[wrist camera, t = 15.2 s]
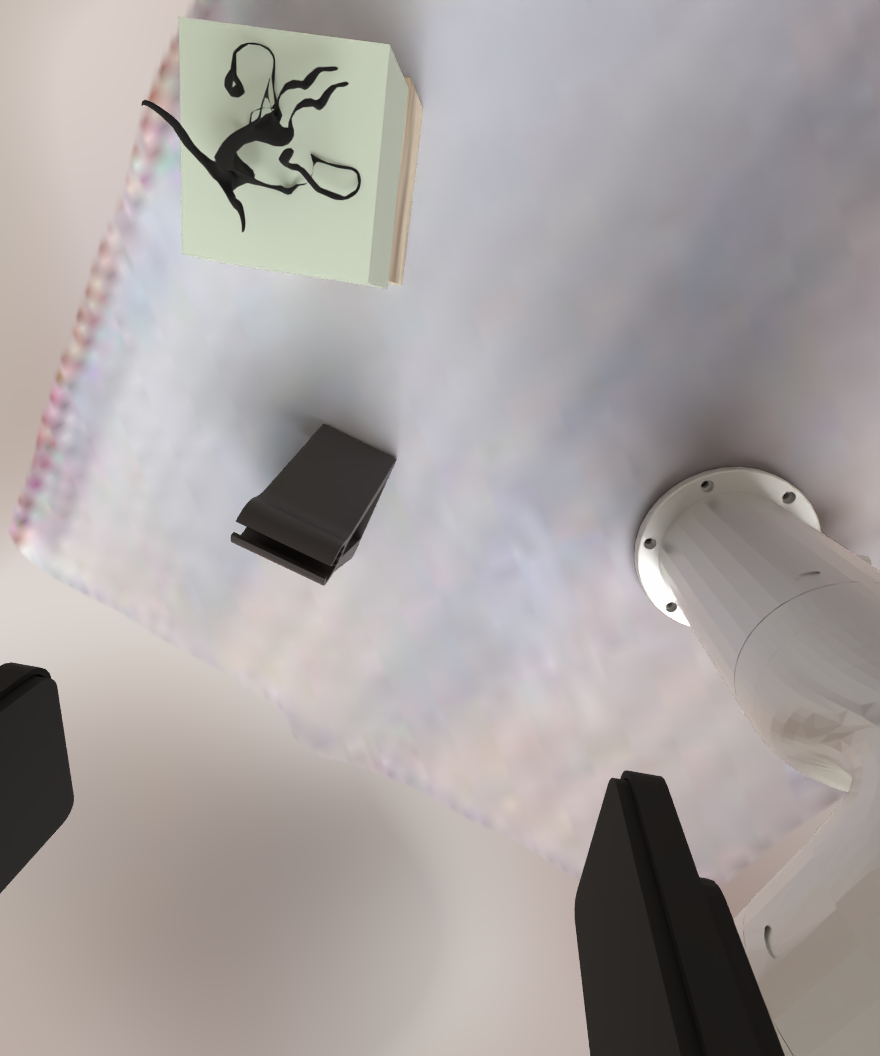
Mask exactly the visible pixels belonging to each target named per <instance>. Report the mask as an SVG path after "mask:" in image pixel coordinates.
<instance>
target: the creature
mask: <svg viewBox="0 0 880 1056" xmlns="http://www.w3.org/2000/svg"><path fill="white" fill-rule="evenodd" d="M248 44H250V45H260V46H262V47H263V48H265V49H267V50H269V52H270V53H271V55H272V57H273V70H272V76H271V78H272V86H273V94H274V105H273V106H272V107H271V108H270V109H271V111H272V109H274V110H273V111H272V112H270V113H267V114H265V115H264V116H263V117H261V112H262V109H263V108H262V107H263V103H264V100H265V98H268V100H269V92H268V89H269V82H270V78H269V81H268V85H267V88H266V91H265V94H264V97H263V100H262V103H261V107H260V108H259V109H257V110H260V113H259V116H258V118H257V119H256V120H255V121H253V122H251V119H252V114H253V112H254V111H253V112H251V114H250V121H249V124H248V125H246V126H244V127H242V128H240V129H238V130H236V131H235V132H233V133H232V134H231V135H229V136H228V137H227V138H226V139H225V140H224V141H223V143H222V144H221V146H220V147H219V149H218V151H217V153H216V154H215V156H214V158H215V161H213V160H211V159H209V158H208V157H207V156H206V155H205V154H204V153H202V152H201V151H200V150H199V149H198V148H197V147H196V146H195V144H194V143H193V142H192V140H191V139H190V137H189V135H188V134H187V132H186V131H185V129H184V128H183V127H182V125H181V124H180V123H179V122H178V121H177V120H176V119H175V118H174V117H173V116H172V115H170V114H169V113H168V112H166V111H165V110H163V109H162V108H161V107H159V106H157V105H156V104H154V103H153V102H150V101H147V100H144V101H142V105H146V106H148V107H150V108H151V109H153V110H154V111H156V112H157V113H158V114H159V115H161V116H162V117H163V118H164V119H165V120H166V121H167V122H168V123H169V124H170V125H171V126H172V127H173V128H174V130H175V132H176V133H177V135H178V136H179V138H180V140H181V141H182V143H183V144H184V146H185V147H186V148H187V149H188V150H189V151H190V152H191V153H192V154H193V155H194V157H195V158H196V159H197V160H198V161H199V162H200V163H201V164H202V165H203V166H204V167H205V168H206V170H207V171H208V172H209V174H210V175H211V177H212V178H213V179H215V180H216V181H217V182H218V183H219V185H220V186H221V188H222V189H223V191H224V193H225V194H226V196H227V198H228V200H229V202H230V203H231V205H232V206H233V208H234V209H236V210H237V212H238V213H239V216H240V219H241V225H242V232H244V230H245V225H246V221H245V213H244V208H243V205H242V203H241V202H240V201H239V200H238V199H236V196H235V194H234V192H233V191H234V190H235V189H236V188H237V187H239V186H241V185H243V184H246V183H249V184H253V185H258V186H263V187H266V188H270V189H274V190H277V191H280V192H282V193H284V194H287V195H290V194H292V193H293V191H294V190H295V189H296V188H297V187H298V186H302V185H306V184H307V183H304V184H296V185H294V186H293V187H290V188H285V187H283V186H282V185H270V184H266V183H263V182H261V181H259V180H257V179H255V174H254V171H253V169H251V168H250V167H249V166H248V165H247V164H246V163H244V162H243V161H242V160H241V159H240V158H239V156H238V154H237V151H238V150H239V149H240V148H241V147H242V146H243V145H245V144H248V143H251V142H254V141H259V142H263V143H267V144H269V145H272V146H278V147H282V146H285V145H288V144H289V143H290V142H291V141H292V139H293V137H294V128H293V124H292V117H293V116H294V114H295V112H296V111H298V110H299V109H301V108H303V107H314V108H315V109H317V110H321V109H323V108H324V107H325V105H326V104H327V102H328V100H329V98H330V96H331V94H332V93H333V92H334V90H335V89H336V88H337V87H345V86H347V85H348V84H349V83H348V82H341V83H337V84H333V85H331V86H330V87H328V88H327V89H326V90H325V91H324V93H323V94H322V96H321V97H320V98H319V99H317V100H314V99H312V98H305V99H303V100H302V101H301V102H299V103H298V104H297V105H296V107H295V109H294V110H293V112H292V114H291V117H290V120H289V122H288V128H287V127H283V126H282V125H281V124H280V121H281V118H282V113H281V110H280V108H279V99H280V97H281V95H282V94H283V93H285V92H286V91H287V90H290V89H296V88H301V89H303V90H306V89H308V88H309V87H310V86H311V85H312V84H313V82H314V81H315V80H316V78H317V76H318V75H319V74H320V73H321V72H323V71H328V72H331V71H336V70H338V69H339V68H338V67H336V66H330V67H317V68H315V69H314V70H313V71H312V72H310V73H309V74H308V75H307V76H306V77H305V79H304V80H303V81H300V80H291V81H289V82H287V83H285V85H284V86H283V88H282V90H281V91H280V94H279V96H278V99H277V98H276V94H275V89H274V83H275V57H274V54H273V52H272V51H271V50H270V49H269V48H268V47H266V46H264V45H262V44H259V43H254V42H251V43H244V44H241V45H240V46H239V47H237V48H236V49H235V50H234V52H233V56H232V62H231V69H230V70H229V72H228V73H227V75H226V77H225V79H224V87H225V88H226V90H227V91H228V93H229V95H230V96H231V97H236V98H238V97H241V96H242V95H243V94H244V93H245V90H244V87H243V85H242V83H241V81H240V79H239V78H238V76H237V65H236V53H237V52H238V51H240V50H241V49H242V48H244V47H245V46H247V45H248ZM233 81H234V82H235V84H236V85H235V86H234V87H233ZM269 103H270V100H269ZM270 106H271V104H270ZM257 110H255V111H257ZM293 154H294V150H293V149H292V148H287V149H285V150H283V152H282V153H281V155H280V157H279V161H280V163H281V164H282V165H283V166H285V167H287V168H289V169H291V170H295V171H299V172H300V173H301V174H302V175H303V177H304V178H305V179H306V180H307V181H308V183H309V184H310V185H311V186H312V188H313V189H314V190H315V191H316V192H318V193H320V194H323V195H325V196H327V197H329V198H332V199H334V200H346V199H349V198H351V197H353V196H354V195H356V194H357V193H358V191H359V189H360V184H361V177H360V174H359V172H358V171H357V169H355V168H353V167H349V166H342V165H337V164H332V163H328V162H326V161H323V160H321V159H319V158H317V157H315V156H314V155H313V154H310V155H311V158H312V162H313V167H314V165H315V164H316V162H320V163H324V164H327V165H330V166H333V167H336V168H341V169H348V170H352V171H354V172H355V173H356V174H357V179H358V185H357V188H356V190H355V191H353V192H351V193H350V194H348V195H346V196H342V195H339V194H337V193H334V192H331V191H329V190H326V189H323V188H321V187H320V186H319V185H318V184H317V183H316V182H315V181H314V179H313V178H312V177H311V176H312V175H310V174H309V173H308V172H307V171H306V170H305V168H303V167H301V166H300V165H299V164H293V163H290V162H289V161H290V159H291V157H292V156H293ZM312 174H313V172H312Z"/></svg>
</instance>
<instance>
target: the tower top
mask: <svg viewBox="0 0 880 1056" xmlns="http://www.w3.org/2000/svg"><path fill="white" fill-rule="evenodd" d="M251 42H254V43H259V44H262V45H264V46H266V47H268V48H269V49H270V50H271V51H272V52H273V54H274V57H275V83H274V89H275V94H276V98H277V99H278V96H279V94H280V91H281V90H282V88H283V86H284V85H285V83H287V82H289V81H291V80H300V81H303V80H304V79H305V77H306V76H307V75H308V74H309V73H310V72H312V71H313V70H314V69H315V68H317V67H330V66H336V67H338V68H339V69H338V70H336V71H331V72H328V71H323V72H321V73H320V74H319V75H318V76H317V78H316V80H315V81H314V82H313V84H312V85H311V86H310V87H309V88H308V89H306V90H303V89H301V88H296V89H290V90H287V91H286V92H285V93H283V94H282V95H281V97H280V99H279V108H280V110H281V113H282V118H281V121H280V124H281V125H282V126H283V127H287V128H288V122H289V120H290V117H291V114H292V112H293V110H294V109H295V107H296V105H297V104H298V103H299V102H301V101H302V100H303V99H305V98H312V99H314V100H317V99H319V98H320V97H321V96H322V94H323V93H324V91H325V90H326V89H327V88H328V87H330V86H331V85H333V84H337V83H341V82H348V83H349V84H348V85H347V86H345V87H337V88H336V89H335V90H334V92H333V93H332V94H331V96H330V98H329V100H328V102H327V104H326V105H325V107H324V108H323V109H321V110H317V109H315V108H314V107H303V108H301V109H299V110H298V111H296V112H295V114H294V116H293V117H292V124H293V128H294V137H293V139H292V141H291V142H290V143H289V144H288V145H285V146H282V147H278V146H272V145H269V144H267V143H263V142H259V141H254V142H251V143H248V144H245V145H243V146H242V147H241V148H240V149H239V150H238V151H237V154H238V156H239V158H240V159H241V160H242V161H243V162H244V163H246V164H247V165H248V166H249V167H250V168H251V169H253V171H254V174H255V179H257V180H259V181H261V182H263V183H266V184H270V185H282V186H283V187H285V188H290V187H293V186H294V185H296V184H304V183H307V184H306V185H302V186H298V187H297V188H296V189H295V190H294V191H293V193H292V194H290V195H287V194H284V193H282V192H280V191H277V190H274V189H270V188H266V187H263V186H258V185H253V184H249V183H246V184H243V185H241V186H239V187H237V188H236V189H235V190H234V191H233V192H234V194H235V196H236V199H238V200H239V201H240V202H241V203H242V205H243V208H244V213H245V221H246V225H245V230H244V232H242V225H241V219H240V216H239V213H238V212H237V210H236V209H234V208H233V206H232V205H231V203H230V202H229V200H228V198H227V196H226V194H225V193H224V191H223V189H222V188H221V186H220V185H219V183H218V182H217V181H216V180H215V179H213V178H212V177H211V175H210V174H209V172H208V171H207V170H206V168H205V167H204V166H203V165H202V164H201V163H200V162H199V161H198V160H197V159H196V158H195V157H194V155H193V154H192V153H191V152H190V151H189V150H188V149H187V148H186V147H185V146H184V144H183V143H182V141H181V195H182V254H184V255H189V256H193V257H198V258H202V259H207V260H212V261H216V262H221V263H225V264H231V265H237V266H243V267H250V268H256V269H263V270H269V271H275V272H282V273H288V274H295V275H301V276H307V277H314V278H320V279H327V280H333V281H340V282H346V283H352V284H359V285H365V286H372V287H378V288H384V289H387V288H388V279H389V269H390V260H391V250H392V240H393V231H394V221H395V212H396V202H397V193H398V183H399V173H400V164H401V154H402V145H403V135H404V126H405V116H406V107H407V97H408V86H407V84H406V81H405V79H404V77H403V74H402V72H401V69H400V67H399V65H398V62H397V60H396V57H395V55H394V53H393V50H392V48H391V45H390V44H383V43H376V42H368V41H360V40H353V39H345V38H338V37H330V36H323V35H315V34H307V33H300V32H292V31H285V30H277V29H269V28H262V27H254V26H247V25H239V24H231V23H224V22H216V21H209V20H201V19H193V18H186V17H179V72H180V124H181V125H182V127H183V128H184V129H185V131H186V132H187V134H188V135H189V137H190V139H191V140H192V142H193V143H194V144H195V146H196V147H197V148H198V149H199V150H200V151H201V152H202V153H204V154H205V155H206V156H207V157H208V158H209V159H211V160H213V161H215V158H214V156H215V154H216V153H217V151H218V149H219V147H220V146H221V144H222V143H223V141H224V140H225V139H226V138H227V137H228V136H229V135H231V134H232V133H233V132H235V131H236V130H238V129H240V128H242V127H244V126H246V125H248V124H249V121H250V114H251V112H253V111H254V112H253V114H252V119H251V122H253V121H255V120H256V119H257V118H258V116H259V113H260V110H257V109H259V108H260V107H261V103H262V100H263V97H264V94H265V91H266V88H267V85H268V81H269V78H270V82H269V89H268V92H269V100H270V103H269V100H268V98H265V100H264V103H263V107H262V108H263V109H262V112H261V117H263V116H264V115H265V114H267V113H270V112H272V111H273V110H274V109H272V111H271V109H270V108H271V107H272V106H273V105H274V94H273V86H272V78H271V76H272V70H273V57H272V55H271V53H270V52H269V50H267V49H265V48H263V47H262V46H260V45H250V44H248V45H247V46H245V47H244V48H242V49H241V50H240V51H238V52H237V53H236V65H237V76H238V78H239V79H240V81H241V83H242V85H243V87H244V90H245V93H244V94H243V95H242V96H241V97H238V98H236V97H231V96H230V95H229V93H228V91H227V90H226V88H225V87H224V79H225V77H226V75H227V73H228V72H229V70H230V69H231V62H232V56H233V52H234V50H235V49H236V48H237V47H239V46H240V45H241V44H244V43H251ZM235 85H236V84H235V82H234V81H233V87H234V86H235ZM270 104H271V106H270ZM255 110H257V111H255ZM287 148H292V149H293V150H294V154H293V156H292V157H291V159H290V161H289V162H290V163H293V164H299V165H300V166H301V167H303V168H305V170H306V171H307V172H308V173H309V174H310V175H312V176H311V177H312V178H313V179H314V181H315V182H316V183H317V184H318V185H319V186H320V187H321V188H323V189H326V190H329V191H331V192H334V193H337V194H339V195H342V196H346V195H348V194H350V193H351V192H353V191H355V190H356V188H357V185H358V179H357V174H356V173H355V172H354V171H352V170H348V169H341V168H336V167H333V166H330V165H327V164H324V163H320V162H316V164H315V165H314V167H313V162H312V158H311V155H310V154H313V155H314V156H315V157H317V158H319V159H321V160H323V161H326V162H328V163H332V164H337V165H342V166H349V167H353V168H355V169H357V171H358V172H359V174H360V177H361V184H360V189H359V191H358V193H357V194H356V195H354V196H353V197H351V198H349V199H346V200H334V199H332V198H329V197H327V196H325V195H323V194H320V193H318V192H316V191H315V190H314V189H313V188H312V186H311V185H310V184H309V183H308V181H307V180H306V179H305V178H304V177H303V175H302V174H301V173H300V172H299V171H295V170H291V169H289V168H287V167H285V166H283V165H282V164H281V163H280V161H279V157H280V155H281V153H282V152H283V150H285V149H287ZM312 172H313V174H312Z"/></svg>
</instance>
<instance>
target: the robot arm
mask: <svg viewBox="0 0 880 1056" xmlns="http://www.w3.org/2000/svg"><path fill="white" fill-rule="evenodd" d="M704 481H707V483H706V485H705V486H701V484H702V483H703V482H704ZM785 493H786V496H784V497H783V495H784V494H785ZM648 538H651V540H650V541H649V542H645V540H646V539H648ZM634 560H635V569H636V573H637V576H638V579H639V582H640V584H641V586H642V588H643V590H644V592H645V594H646V595H647V597H648V598H649V599H650V601H651V602H652V603H653V604H654V606H655V607H656V608H657V609H659V610H660V611H661V612H662V613H663V614H664V615H666V616H667V617H669V618H671V619H673V620H674V621H676V622H678V623H680V624H683V625H686V626H689V627H691V628H692V630H693V631H694V633H695V634H696V636H697V638H698V639H699V641H700V643H701V644H702V646H703V648H704V649H705V651H706V652H707V654H708V656H709V657H710V659H711V661H712V662H713V664H714V666H715V667H716V669H717V670H718V672H719V674H720V675H721V677H722V679H723V680H724V682H725V684H726V685H727V687H728V688H729V690H730V692H731V693H732V695H733V697H734V698H735V700H736V702H737V703H738V705H739V706H740V708H741V710H742V711H743V712H744V714H745V716H746V717H747V719H748V720H749V722H750V724H751V725H752V727H753V728H754V730H755V731H756V733H757V734H758V736H759V737H760V738H761V740H762V741H763V742H764V743H765V744H766V745H767V747H768V748H769V749H770V750H771V751H772V752H773V753H774V754H775V755H777V756H778V757H779V758H780V759H781V760H783V761H784V762H785V763H787V764H788V765H790V766H791V767H792V768H794V769H795V770H797V771H799V772H800V773H802V774H804V775H806V776H808V777H810V778H812V779H814V780H816V781H819V782H821V783H824V784H826V785H828V786H831V787H834V788H837V789H840V790H843V791H846V792H848V793H847V794H846V796H845V798H844V799H843V801H842V802H841V803H840V805H839V806H838V807H837V808H836V809H835V811H834V812H833V813H832V814H831V815H830V816H829V817H828V818H827V819H826V821H824V822H823V824H822V825H820V826H819V827H818V829H817V830H816V832H815V834H814V836H813V837H812V838H811V839H810V840H809V841H808V842H807V843H806V844H805V845H804V846H803V847H802V848H801V849H800V850H799V851H798V852H797V853H796V854H795V855H794V856H793V857H792V858H791V859H790V860H789V861H788V863H786V864H785V865H784V866H783V867H782V868H781V869H780V870H779V872H778V873H777V874H776V875H775V876H774V877H773V878H772V879H771V880H770V881H769V882H768V883H767V884H766V885H765V886H764V887H763V888H762V889H761V890H760V891H759V892H758V893H757V894H756V895H755V896H754V897H753V899H752V900H751V901H750V902H749V903H748V904H747V905H746V907H745V908H744V909H743V910H742V911H741V912H740V913H739V914H738V915H737V916H736V918H735V919H734V920H733V918H732V915H731V913H730V910H729V907H728V905H727V902H726V900H725V898H724V895H723V893H722V891H721V889H720V888H719V886H718V885H717V884H716V883H715V882H714V881H713V880H710V879H706V878H701V877H699V875H698V872H697V870H696V867H695V864H694V861H693V858H692V855H691V852H690V850H689V847H688V844H687V841H686V838H685V835H684V832H683V829H682V827H681V824H680V821H679V818H678V815H677V812H676V809H675V806H674V804H673V801H672V798H671V795H670V792H669V789H668V786H667V784H666V782H665V780H664V779H663V778H662V777H661V776H655V775H650V774H644V773H638V772H633V771H624V772H623V773H622V776H621V778H620V779H616V778H611V779H610V781H609V783H608V786H607V790H606V793H605V797H604V800H603V804H602V807H601V810H600V814H599V817H598V821H597V824H596V828H595V831H594V835H593V838H592V841H591V845H590V848H589V852H588V855H587V859H586V862H585V866H584V869H583V873H582V876H581V879H580V883H579V887H578V890H577V894H576V899H575V925H576V934H577V942H578V951H579V960H580V969H581V977H582V986H583V995H584V1004H585V1012H586V1020H587V1030H588V1039H589V1047H590V1056H880V571H879V570H877V569H876V568H874V567H873V566H871V560H870V559H869V557H867V556H861V555H855V554H853V553H852V552H850V551H849V550H847V549H845V548H844V547H842V546H841V545H839V544H838V543H836V542H835V541H833V540H832V539H830V538H829V537H827V536H826V535H824V534H823V533H822V532H821V527H820V523H819V519H818V516H817V514H816V512H815V510H814V508H813V506H812V504H811V503H810V502H809V501H808V499H807V498H806V497H805V496H804V495H803V493H802V492H801V491H800V490H798V489H797V488H795V487H794V486H793V485H791V484H790V483H789V482H787V481H786V480H784V479H782V478H780V477H778V476H776V475H774V474H771V473H768V472H765V471H762V470H759V469H754V468H747V467H722V468H718V469H713V470H708V471H704V472H702V473H699V474H697V475H694V476H692V477H689V478H687V479H685V480H684V481H682V482H680V483H679V484H677V485H675V486H674V487H672V488H671V489H670V490H669V491H667V492H666V493H665V494H664V495H663V496H662V497H660V498H659V499H658V501H657V502H656V503H655V504H654V505H653V507H652V508H651V509H650V510H649V512H648V513H647V515H646V517H645V519H644V520H643V522H642V524H641V526H640V529H639V532H638V535H637V538H636V542H635V552H634ZM669 602H671V603H670V604H667V603H669ZM73 802H74V795H73V788H72V781H71V775H70V768H69V762H68V755H67V748H66V742H65V736H64V729H63V722H62V715H61V709H60V703H59V695H58V689H57V685H56V682H55V681H54V680H52V679H51V676H50V673H49V672H48V671H47V670H46V669H43V668H39V667H34V666H28V665H22V664H17V663H6V664H3V665H1V666H0V893H1V892H2V891H3V890H4V889H5V888H6V886H7V885H8V884H9V883H10V882H11V881H12V879H14V877H15V876H16V875H17V874H18V873H19V872H20V871H21V870H22V868H23V867H24V866H25V865H26V864H27V863H28V862H29V860H30V859H31V858H32V857H33V856H34V855H35V854H36V853H37V852H38V851H39V849H40V848H41V847H42V846H43V845H44V844H45V843H46V841H47V840H48V839H49V838H50V837H51V836H52V835H53V834H54V833H55V832H56V830H57V829H58V828H59V827H60V826H61V825H62V824H63V823H64V821H65V820H66V819H67V817H68V815H69V813H70V812H71V809H72V806H73Z"/></svg>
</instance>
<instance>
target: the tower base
mask: <svg viewBox="0 0 880 1056" xmlns="http://www.w3.org/2000/svg"><path fill="white" fill-rule="evenodd" d="M403 77H404V76H403ZM404 79H405V81H406V84H407V86H408V97H407V107H406V116H405V126H404V135H403V145H402V154H401V164H400V173H399V183H398V193H397V202H396V212H395V221H394V231H393V240H392V250H391V260H390V269H389V279H388V283H391V284H397V285H402V281H403V273H404V265H405V256H406V248H407V240H408V231H409V223H410V215H411V206H412V198H413V190H414V181H415V173H416V165H417V156H418V148H419V140H420V132H421V123H422V115H423V108H422V105H421V102H420V100H419V97H418V95H417V92H416V90H415V87H414V84H413V82H412V79H411V77H404Z"/></svg>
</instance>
